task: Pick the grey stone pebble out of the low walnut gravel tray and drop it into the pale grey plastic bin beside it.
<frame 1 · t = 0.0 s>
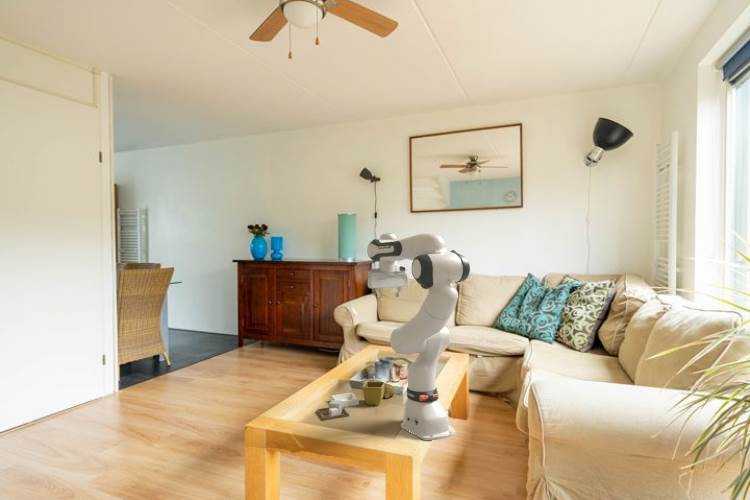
hand: (388, 297, 189), 48 cm above the table, fingers open, 8 cm apart
pebble: (335, 412, 172), resting on gravel tray
gravel tray: (332, 415, 170), on the table
small pebble: (333, 416, 167), resting on gravel tray
grey bin: (345, 403, 184), on the table
seashell: (386, 397, 192), on the table
flower pot: (374, 404, 183), on the table
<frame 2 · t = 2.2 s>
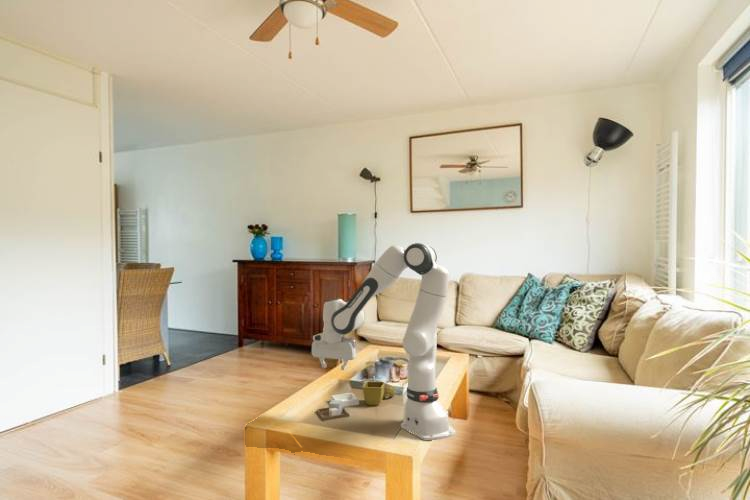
hand: (333, 368, 172), 19 cm above the table, fingers open, 8 cm apart
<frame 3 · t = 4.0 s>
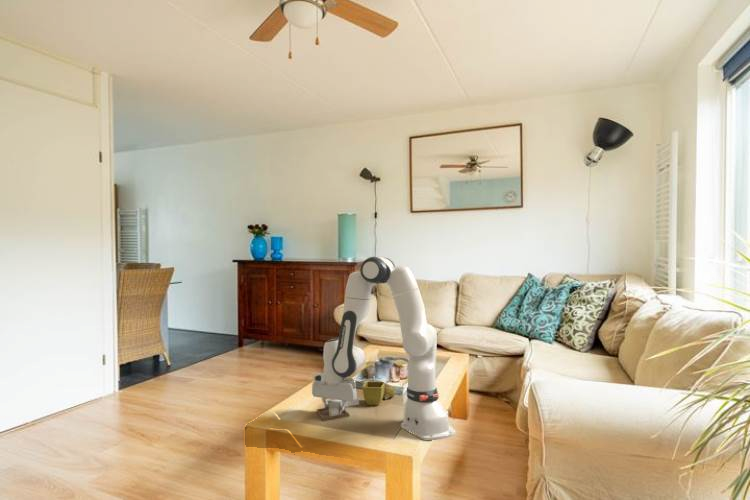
hand: (334, 409, 172), 2 cm above the table, fingers open, 6 cm apart
pebble: (335, 412, 172), resting on gravel tray, touching gripper
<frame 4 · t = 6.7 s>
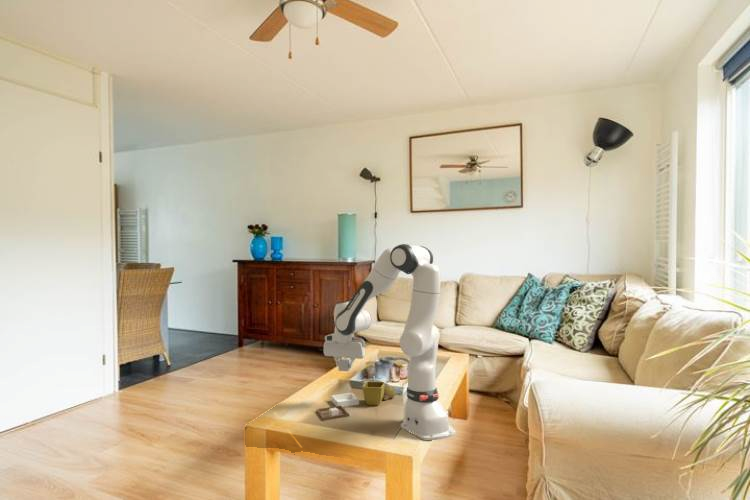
hand: (344, 366, 184), 17 cm above the table, fingers closed on pebble, 5 cm apart
pebble: (344, 369, 185), point 15 cm above the table, touching gripper
seashell: (386, 399, 190), on the table
everything else where it was.
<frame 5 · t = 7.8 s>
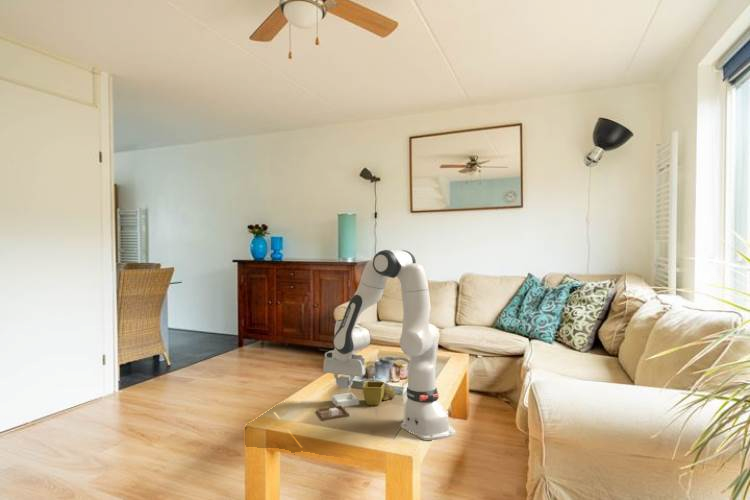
hand: (344, 384, 184), 9 cm above the table, fingers closed on pebble, 5 cm apart
pebble: (344, 386, 185), point 8 cm above the table, touching gripper
when the fingers open (4 cm above the table, at t = 8.9 s): pebble drops 2 cm, resting on grey bin.
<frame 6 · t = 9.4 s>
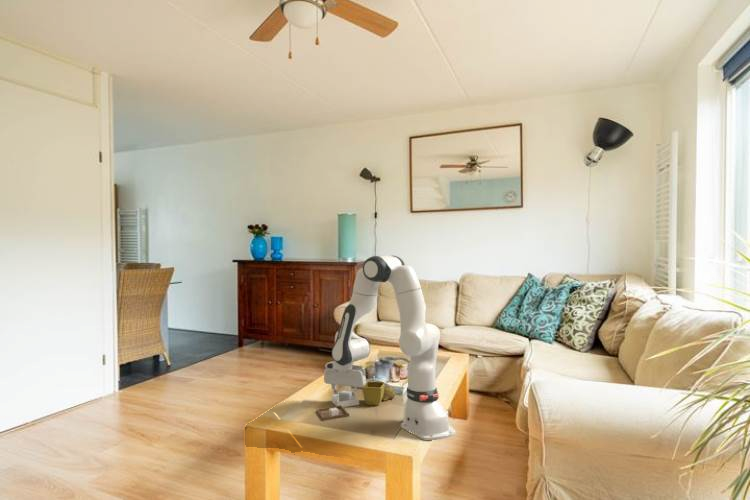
hand: (345, 394, 184), 4 cm above the table, fingers open, 8 cm apart
pebble: (345, 402, 184), resting on grey bin
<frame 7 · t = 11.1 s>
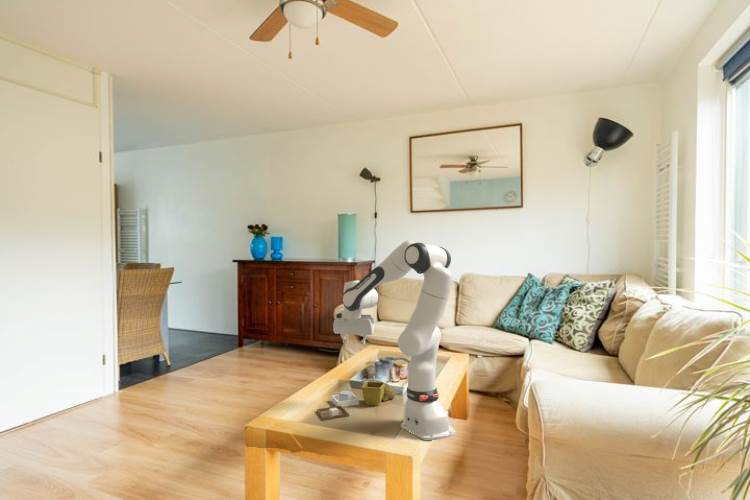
hand: (354, 343, 190), 26 cm above the table, fingers open, 8 cm apart
seashell: (386, 400, 189), on the table, touching flower pot
flower pot: (373, 404, 183), on the table, touching seashell
everything else where it was.
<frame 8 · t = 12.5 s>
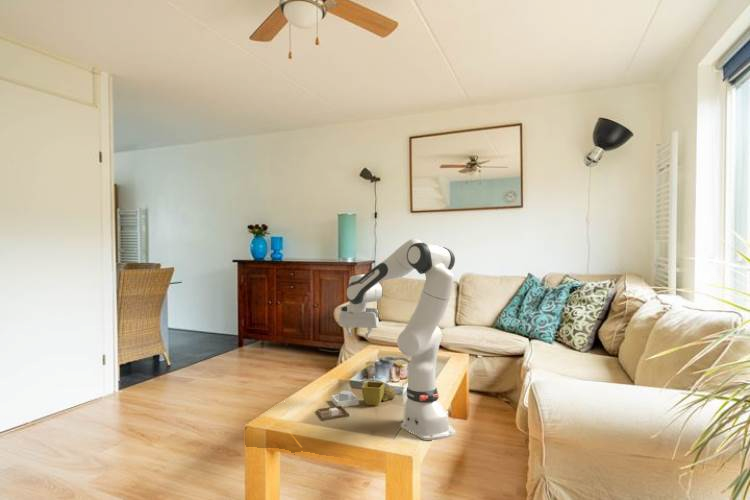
hand: (358, 336, 193), 29 cm above the table, fingers open, 8 cm apart
seashell: (386, 400, 188), on the table
flower pot: (373, 404, 182), on the table
everything else where it was.
at the end: pebble inside the target area on the grey bin (0.4 cm from its centre), point 0.5 cm above the grey bin's base; the gripper is holding nothing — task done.
